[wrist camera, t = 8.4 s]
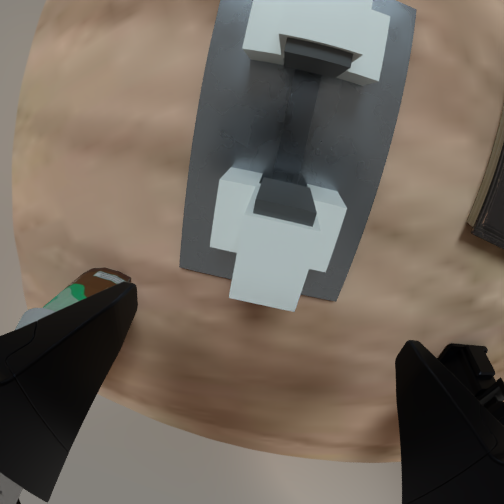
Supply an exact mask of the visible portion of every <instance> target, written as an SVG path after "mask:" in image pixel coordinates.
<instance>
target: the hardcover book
mask: <svg viewBox="0 0 504 504" xmlns="http://www.w3.org/2000/svg"><path fill="white" fill-rule="evenodd" d="M467 223H469V225H470V226H472V227H473V229H472V231H471V233H472V234H473V235H476V236H478V237H480V238H482V239H484V240H486V241H488V242H490V243H492V244H494V245H496V246H498V247H500V248H502V249H504V105H503V110H502V115H501V119H500V123H499V128H498V132H497V135H496V139H495V143H494V146H493V150H492V153H491V157H490V160H489V163H488V166H487V169H486V172H485V175H484V178H483V181H482V184H481V187H480V189H479V192H478V195H477V197H476V200H475V202H474V205H473V207H472V210H471V212H470V215H469V217H468V219H467Z"/></svg>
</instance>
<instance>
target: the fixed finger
mask: <svg viewBox="0 0 504 504" xmlns="http://www.w3.org/2000/svg"><path fill="white" fill-rule="evenodd" d="M372 2H373V0H253V4H252V8H251V12H250V16H249V20H248V25H247V29H246V34H245V38H244V43H243V47H242V49H243V50H244V52H245V53H246V54H247V56H248V57H249V58H250V59H251V60H257V61H263V62H269V63H275V64H280V65H284V63H285V67H289V68H294V69H299V70H303V71H307V72H311V73H316V74H320V75H323V76H327V77H331V78H338V79H342V80H345V81H349V82H352V83H355V84H358V85H361V86H365V85H368V84H371V83H375V82H379V78H380V73H381V68H382V63H383V58H384V52H385V47H386V41H387V35H388V29H389V23H390V16H388V15H386V14H383V13H380V12H377V11H375V10H372Z"/></svg>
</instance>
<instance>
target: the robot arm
mask: <svg viewBox="0 0 504 504" xmlns="http://www.w3.org/2000/svg"><path fill="white" fill-rule="evenodd" d="M137 306H138V302H137V287H136V285H135V284H133V283H130V282H126V281H123V282H121V283H118V284H116V285H114V286H112V287H109V288H107V289H105V290H103V291H100V292H98V293H96V294H94V295H91V296H89V297H87V298H85V299H82V300H80V301H78V302H76V303H74V304H71V305H69V306H67V307H65V308H63V309H60V310H58V311H56V312H54V313H52V314H50V315H47V316H45V317H43V318H41V319H39V320H38V321H34V322H32V323H30V324H28V325H26V326H23V327H21V328H19V329H17V330H14V331H12V332H9V333H7V334H4V335H2V336H0V504H21V503H20V501H19V496H20V493H21V491H22V489H23V488H24V489H25V490H27V491H28V492H30V493H32V494H33V495H35V496H37V497H38V498H40V499H42V500H44V501H45V502H48V501H49V499H50V496H51V494H52V491H53V489H54V486H55V484H56V482H57V479H58V477H59V474H60V472H61V470H62V467H63V465H64V463H65V460H66V458H67V456H68V453H69V451H70V449H71V446H72V444H73V442H74V440H75V438H76V436H77V434H78V432H79V429H80V427H81V425H82V423H83V421H84V419H85V417H86V415H87V413H88V411H89V408H90V407H91V405H92V403H93V401H94V399H95V397H96V395H97V393H98V391H99V389H100V387H101V385H102V383H103V381H104V379H105V377H106V375H107V374H108V372H109V370H110V368H111V366H112V364H113V362H114V361H115V359H116V357H117V355H118V353H119V351H120V349H121V347H122V345H123V342H124V340H125V337H126V335H127V332H128V330H129V328H130V325H131V323H132V320H133V318H134V316H135V313H136V311H137ZM487 351H488V349H487V348H486V347H485V346H474V345H463V344H450V345H448V346H447V348H446V349H445V350H444V352H443V353H442V355H441V356H440V357H439V359H437V358H436V357H435V356H434V355H433V354H432V353H431V352H430V351H429V350H428V349H426V348H425V347H424V346H423V345H422V344H421V343H420V342H419V341H414V340H408V341H407V342H406V343H405V345H404V346H403V348H402V349H401V351H400V352H399V354H398V355H397V357H396V361H395V369H396V400H397V411H398V420H399V432H400V445H401V464H402V504H504V402H503V400H504V382H503V380H502V379H501V378H499V379H498V380H497V382H496V381H495V379H494V377H493V376H494V375H495V371H494V369H493V367H492V365H491V363H490V361H489V359H488V357H487V355H486V353H487Z"/></svg>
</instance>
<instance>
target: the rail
mask: <svg viewBox="0 0 504 504" xmlns="http://www.w3.org/2000/svg"><path fill="white" fill-rule="evenodd" d="M252 4H253V0H221V1H220V5H219V9H218V13H217V17H216V21H215V25H214V30H213V34H212V39H211V43H210V48H209V52H208V57H207V62H206V67H205V72H204V77H203V83H202V88H201V94H200V99H199V105H198V111H197V117H196V123H195V130H194V136H193V143H192V150H191V157H190V165H189V173H188V181H187V189H186V198H185V208H184V218H183V228H182V240H181V252H180V266H179V267H181V268H185V269H189V270H193V271H197V272H202V273H206V274H210V275H215V276H219V277H223V278H228V279H232V277H233V272H234V266H235V261H236V255H237V253H235V252H230V251H226V250H222V249H217V248H213V247H210V240H211V233H212V226H213V219H214V212H215V205H216V199H217V192H218V186H219V179H220V178H221V177H222V176H223V175H224V174H225V173H226V172H227V171H228V170H229V169H230V168H231V167H233V168H238V169H243V170H248V171H253V172H258V173H262V179H261V183H262V180H263V177H266V178H270V179H275V180H279V181H284V182H288V183H292V184H297V185H301V186H305V187H306V186H307V184H310V185H314V186H318V187H322V188H326V189H330V190H334V191H338V193H339V195H340V197H341V198H342V200H343V202H344V204H345V205H346V207H347V210H346V214H345V217H344V220H343V223H342V226H341V229H340V232H339V235H338V238H337V241H336V244H335V247H334V250H333V253H332V256H331V259H330V261H329V264H328V267H327V270H326V272H321V271H317V270H312V269H309V271H308V274H307V277H306V280H305V283H304V286H303V288H302V291H301V295H306V296H311V297H316V298H321V299H326V300H331V301H337V298H338V296H339V293H340V291H341V289H342V286H343V284H344V281H345V279H346V276H347V274H348V271H349V269H350V266H351V263H352V261H353V258H354V256H355V253H356V250H357V248H358V245H359V242H360V239H361V237H362V234H363V231H364V228H365V225H366V222H367V220H368V217H369V214H370V211H371V208H372V205H373V202H374V199H375V195H376V192H377V189H378V186H379V183H380V179H381V176H382V173H383V169H384V166H385V162H386V159H387V155H388V152H389V148H390V144H391V141H392V137H393V133H394V129H395V125H396V121H397V117H398V113H399V108H400V104H401V99H402V95H403V90H404V85H405V80H406V75H407V70H408V64H409V59H410V53H411V47H412V40H413V33H414V26H415V18H416V9H414V8H412V7H410V6H407V5H405V4H403V3H400V2H398V1H395V0H373V2H372V10H375V11H377V12H380V13H383V14H386V15H388V16H390V23H389V29H388V35H387V41H386V47H385V52H384V58H383V63H382V68H381V73H380V78H379V82H375V83H371V84H368V85H365V86H361V85H358V84H355V83H352V82H349V81H345V80H342V79H338V78H331V77H327V76H323V75H320V74H316V73H311V72H307V71H303V70H299V69H294V68H289V67H285V63H284V65H280V64H275V63H269V62H263V61H257V60H251V59H250V58H249V57H248V56H247V54H246V53H245V52H244V50H243V49H242V47H243V43H244V38H245V34H246V29H247V25H248V20H249V16H250V12H251V8H252Z"/></svg>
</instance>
